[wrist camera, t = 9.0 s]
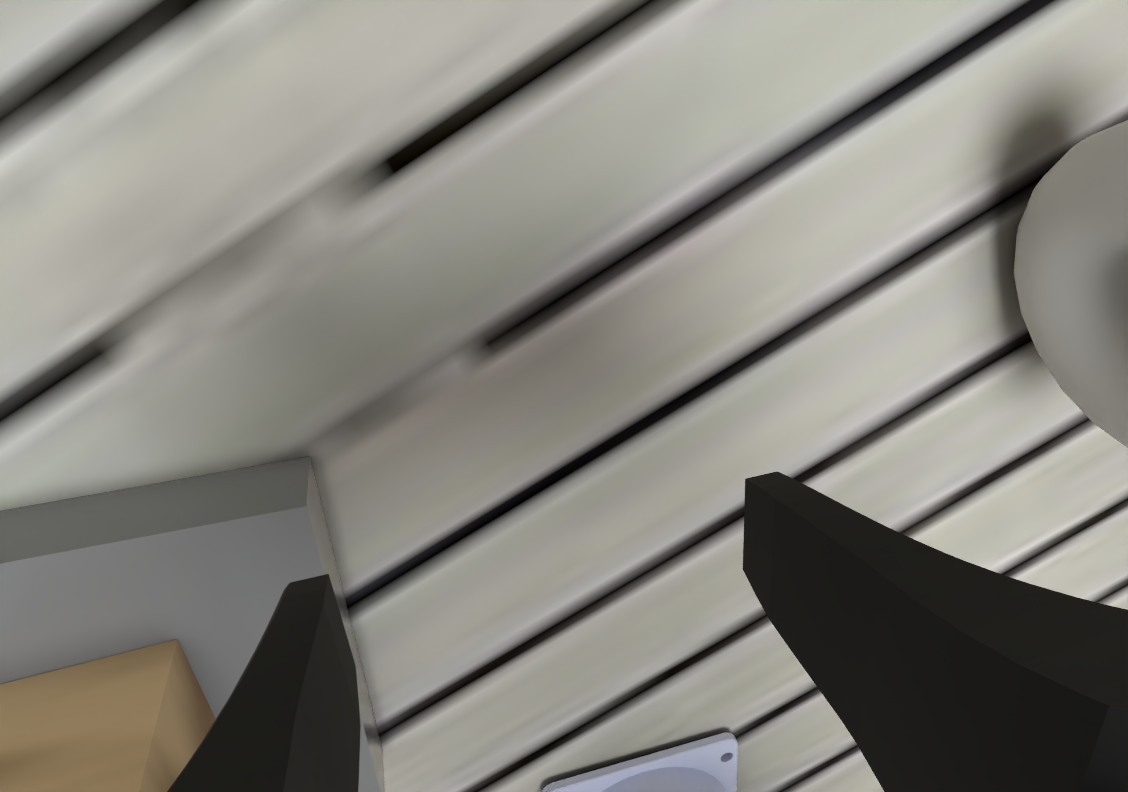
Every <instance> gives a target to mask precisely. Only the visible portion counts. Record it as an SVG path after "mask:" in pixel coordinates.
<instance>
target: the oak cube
mask: <svg viewBox="0 0 1128 792" xmlns="http://www.w3.org/2000/svg"><path fill="white" fill-rule="evenodd" d="M215 720H216V718H215V716H214V714H213V712H212V710H211V708H210V706H209V704H208V702H207V700H206V698H205V696H204V694H203V691H202V689H201V687H200V685H199V683H198V681H197V679H196V677H195V675H194V673H193V671H192V669H191V667H190V664H189V662H188V660H187V658H186V656H185V654H184V652H183V650H182V648H181V646H180V644H179V642H178V640H177V639H176V640H172V641H168V642H164V643H161V644H157V645H153V646H149V647H145V648H141V649H137V650H133V651H129V652H125V653H121V654H117V655H113V656H110V657H106V658H102V659H98V660H94V661H90V662H86V663H82V664H78V665H74V666H70V667H66V668H63V669H59V670H55V671H51V672H47V673H43V674H39V675H35V676H31V677H27V678H23V679H19V680H15V681H12V682H8V683H4V684H0V792H167V791H168V789H169V788H170V787H171V785H172V784H173V783H174V781H175V780H176V778H177V777H178V776H179V774H180V773H181V771H182V770H183V769H184V767H185V766H186V764H187V763H188V761H189V760H190V759H191V757H192V756H193V754H194V753H195V751H196V750H197V748H198V747H199V745H200V744H201V742H202V741H203V739H204V737H205V736H206V734H207V733H208V731H209V729H210V728H211V726H212V724H213V723H214V721H215Z"/></svg>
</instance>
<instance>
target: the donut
mask: <svg viewBox="0 0 1128 792" xmlns="http://www.w3.org/2000/svg"><path fill="white" fill-rule="evenodd" d="M1014 278H1015V283H1016V288H1017V294H1018V299H1019V305H1020V310H1021V314H1022V316H1023V319H1024V321H1025V324H1026V326H1027V328H1028V331H1029V333H1030V336H1031V338H1032V340H1033V343H1034V345H1035V348H1036V350H1037V352H1038V354H1039V355H1040V357H1041V358H1042V360H1043V361H1044V363H1045V364H1046V366H1047V368H1048V369H1049V371H1050V372H1051V374H1052V375H1053V377H1054V378H1055V380H1056V381H1057V383H1058V384H1059V386H1060V387H1061V389H1062V390H1063V391H1064V392H1065V393H1066V394H1067V395H1068V396H1069V398H1070V399H1071V400H1072V401H1073V402H1074V403H1075V404H1076V405H1077V406H1078V407H1079V408H1080V409H1081V410H1082V411H1083V412H1084V413H1085V414H1086V415H1087V417H1088V418H1089V419H1090V420H1091V421H1092V422H1093V423H1094V424H1096V425H1097V426H1098V427H1100V428H1101V429H1103V430H1104V431H1105V432H1107V433H1108V434H1109V435H1111V436H1112V437H1114V438H1115V439H1116V440H1118V441H1119V442H1120V443H1122V444H1123V445H1125V446H1126V447H1127V448H1128V120H1127V121H1125V122H1122V123H1120V124H1117V125H1115V126H1112V127H1110V128H1108V129H1105V130H1103V131H1100V132H1098V133H1096V134H1093V135H1091V136H1088V137H1087V138H1085V139H1084V140H1082V141H1081V142H1079V143H1078V144H1076V145H1075V146H1073V147H1072V148H1071V149H1070V150H1069V151H1068V152H1067V153H1066V154H1065V155H1064V156H1063V157H1062V158H1061V159H1060V160H1059V161H1058V162H1057V163H1056V164H1055V165H1054V166H1053V167H1052V168H1051V169H1050V170H1049V171H1048V172H1047V173H1046V174H1045V175H1044V176H1043V177H1042V179H1041V180H1040V181H1039V183H1038V184H1037V186H1036V187H1035V188H1034V190H1033V192H1032V194H1031V197H1030V199H1029V202H1028V204H1027V206H1026V209H1025V211H1024V214H1023V216H1022V218H1021V221H1020V223H1019V226H1018V231H1017V237H1016V251H1015V264H1014Z"/></svg>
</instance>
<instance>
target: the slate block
mask: <svg viewBox="0 0 1128 792" xmlns="http://www.w3.org/2000/svg"><path fill="white" fill-rule="evenodd" d="M325 574H329V577H330V580H331V584H332V587H333V590H334V594H335V597H336V601H337V604H338V607H339V611H340V614H341V618H342V621H343V624H344V628H345V631H346V635H347V638H348V641H349V645H350V648H351V652H352V655H353V658H354V662H355V665H356V674H357V686H358V697H359V711H360V724H361V729H360V760H359V786H358V792H385V787H384V769H383V751H382V746H381V742H380V738H379V734H378V730H377V726H376V722H375V718H374V714H373V710H372V706H371V702H370V698H369V694H368V690H367V685H366V681H365V677H364V673H363V669H362V665H361V661H360V657H359V653H358V649H357V645H356V641H355V637H354V633H353V629H352V625H351V621H350V617H349V613H348V609H347V605H346V601H345V597H344V593H343V589H342V584H341V580H340V576H339V572H338V568H337V564H336V560H335V556H334V552H333V548H332V544H331V540H330V536H329V532H328V528H327V524H326V520H325V516H324V512H323V508H322V504H321V500H320V496H319V492H318V488H317V483H316V479H315V475H314V471H313V467H312V463H311V459H310V457H304V458H298V459H292V460H287V461H281V462H275V463H270V464H264V465H258V466H253V467H247V468H241V469H236V470H230V471H224V472H219V473H213V474H207V475H202V476H196V477H190V478H185V479H179V480H173V481H168V482H162V483H156V484H151V485H145V486H139V487H134V488H128V489H122V490H116V491H111V492H105V493H99V494H94V495H88V496H82V497H77V498H71V499H65V500H60V501H54V502H48V503H43V504H37V505H31V506H26V507H20V508H14V509H9V510H3V511H0V684H4V683H8V682H12V681H15V680H19V679H23V678H27V677H31V676H35V675H39V674H43V673H47V672H51V671H55V670H59V669H63V668H66V667H70V666H74V665H78V664H82V663H86V662H90V661H94V660H98V659H102V658H106V657H110V656H113V655H117V654H121V653H125V652H129V651H133V650H137V649H141V648H145V647H149V646H153V645H157V644H161V643H164V642H168V641H172V640H176V639H177V640H178V642H179V644H180V646H181V648H182V650H183V652H184V654H185V656H186V658H187V660H188V662H189V664H190V667H191V669H192V671H193V673H194V675H195V677H196V679H197V681H198V683H199V685H200V687H201V689H202V691H203V694H204V696H205V698H206V700H207V702H208V704H209V706H210V708H211V710H212V712H213V714H214V716H215V718H217V716H218V715H219V713H220V712H221V710H222V708H223V707H224V705H225V703H226V702H227V700H228V699H229V697H230V695H231V693H232V692H233V690H234V688H235V686H236V685H237V683H238V681H239V679H240V677H241V675H242V674H243V672H244V670H245V668H246V666H247V664H248V663H249V661H250V659H251V657H252V655H253V653H254V652H255V650H256V648H257V646H258V644H259V642H260V640H261V638H262V636H263V634H264V632H265V630H266V628H267V626H268V624H269V621H270V619H271V617H272V615H273V613H274V611H275V609H276V606H277V604H278V602H279V600H280V598H281V595H282V593H283V591H284V589H285V588H286V587H287V585H288V584H289V583H290V582H295V581H299V580H303V579H308V578H312V577H317V576H321V575H325Z"/></svg>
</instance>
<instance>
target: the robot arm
mask: <svg viewBox="0 0 1128 792" xmlns="http://www.w3.org/2000/svg"><path fill="white" fill-rule="evenodd" d="M743 571H744V572H745V574H746V576H747V578H748V580H749V582H750V584H751V586H752V588H753V590H754V592H755V594H756V596H757V598H758V600H759V601H760V603H761V605H762V607H763V609H764V611H765V612H766V614H767V616H768V618H769V619H770V621H771V622H772V624H773V625H774V627H775V628H776V630H777V631H778V632H779V634H780V635H781V637H782V638H783V639H784V641H785V642H786V644H787V645H788V647H789V648H790V649H791V651H792V652H793V654H794V655H795V656H796V658H797V659H798V661H799V662H800V663H801V665H802V666H803V667H804V669H805V670H806V672H807V673H808V674H809V676H810V677H811V679H812V680H813V681H814V683H815V684H816V686H817V687H818V688H819V690H820V691H821V693H822V694H823V695H824V697H825V698H826V699H827V701H828V702H829V704H830V705H831V706H832V708H833V709H834V711H835V712H836V713H837V715H838V716H839V718H840V719H841V720H842V722H843V723H844V725H845V726H846V728H847V729H848V731H849V732H850V734H851V736H852V737H853V739H854V740H855V742H856V743H857V745H858V746H859V748H860V750H861V752H862V753H863V755H864V757H865V759H866V760H867V762H868V764H869V766H870V767H871V769H872V771H873V772H874V774H875V776H876V778H877V779H878V781H879V783H880V785H881V786H882V788H883V790H884V792H1128V610H1126V609H1121V608H1117V607H1112V606H1108V605H1104V604H1100V603H1096V602H1092V601H1088V600H1084V599H1080V598H1077V597H1073V596H1070V595H1066V594H1063V593H1059V592H1056V591H1052V590H1049V589H1045V588H1042V587H1039V586H1035V585H1032V584H1029V583H1026V582H1022V581H1019V580H1016V579H1013V578H1010V577H1007V576H1004V575H1001V574H999V573H996V572H993V571H990V570H988V569H985V568H982V567H980V566H977V565H974V564H971V563H969V562H966V561H963V560H961V559H958V558H956V557H953V556H951V555H948V554H946V553H943V552H941V551H939V550H937V549H934V548H932V547H930V546H927V545H925V544H923V543H921V542H918V541H916V540H914V539H912V538H909V537H907V536H905V535H903V534H901V533H899V532H896V531H894V530H892V529H890V528H888V527H886V526H884V525H882V524H880V523H878V522H876V521H874V520H872V519H870V518H868V517H866V516H864V515H862V514H860V513H858V512H856V511H854V510H852V509H850V508H848V507H846V506H844V505H842V504H840V503H839V502H837V501H835V500H833V499H831V498H829V497H827V496H825V495H823V494H821V493H819V492H818V491H816V490H814V489H812V488H810V487H808V486H806V485H804V484H802V483H800V482H798V481H796V480H794V479H792V478H790V477H788V476H786V475H784V474H782V473H779V472H773V473H769V474H764V475H760V476H756V477H751V478H747V479H745V514H744V549H743ZM360 729H361V724H360V711H359V697H358V686H357V674H356V665H355V662H354V658H353V655H352V652H351V648H350V645H349V641H348V638H347V635H346V631H345V628H344V624H343V621H342V618H341V614H340V611H339V607H338V604H337V601H336V597H335V594H334V590H333V587H332V584H331V580H330V577H329V574H325V575H321V576H317V577H312V578H308V579H303V580H299V581H295V582H290V583H289V584H288V585H287V587H286V588H285V589H284V591H283V593H282V595H281V598H280V600H279V602H278V604H277V606H276V609H275V611H274V613H273V615H272V617H271V619H270V621H269V624H268V626H267V628H266V630H265V632H264V634H263V636H262V638H261V640H260V642H259V644H258V646H257V648H256V650H255V652H254V653H253V655H252V657H251V659H250V661H249V663H248V664H247V666H246V668H245V670H244V672H243V674H242V675H241V677H240V679H239V681H238V683H237V685H236V686H235V688H234V690H233V692H232V693H231V695H230V697H229V699H228V700H227V702H226V703H225V705H224V707H223V708H222V710H221V712H220V713H219V715H218V716H217V718H216V720H215V721H214V723H213V724H212V726H211V728H210V729H209V731H208V733H207V734H206V736H205V737H204V739H203V741H202V742H201V744H200V745H199V747H198V748H197V750H196V751H195V753H194V754H193V756H192V757H191V759H190V760H189V761H188V763H187V764H186V766H185V767H184V769H183V770H182V771H181V773H180V774H179V776H178V777H177V778H176V780H175V781H174V783H173V784H172V785H171V787H170V788H169V789H168V791H167V792H358V786H359V760H360ZM737 763H738V743H737V740H736V738H735V736H734V735H733V734H732V733H721V734H718V735H714V736H711V737H707V738H704V739H701V740H697V741H694V742H690V743H687V744H683V745H680V746H676V747H673V748H670V749H666V750H663V751H659V752H656V753H652V754H649V755H645V756H642V757H639V758H635V759H632V760H628V761H625V762H621V763H618V764H614V765H611V766H608V767H604V768H601V769H597V770H594V771H590V772H587V773H583V774H580V775H577V776H573V777H570V778H566V779H563V780H559V781H556V782H552V783H550V784H548V785H547V786H545V787H544V788H543V790H542V791H541V792H737Z"/></svg>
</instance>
